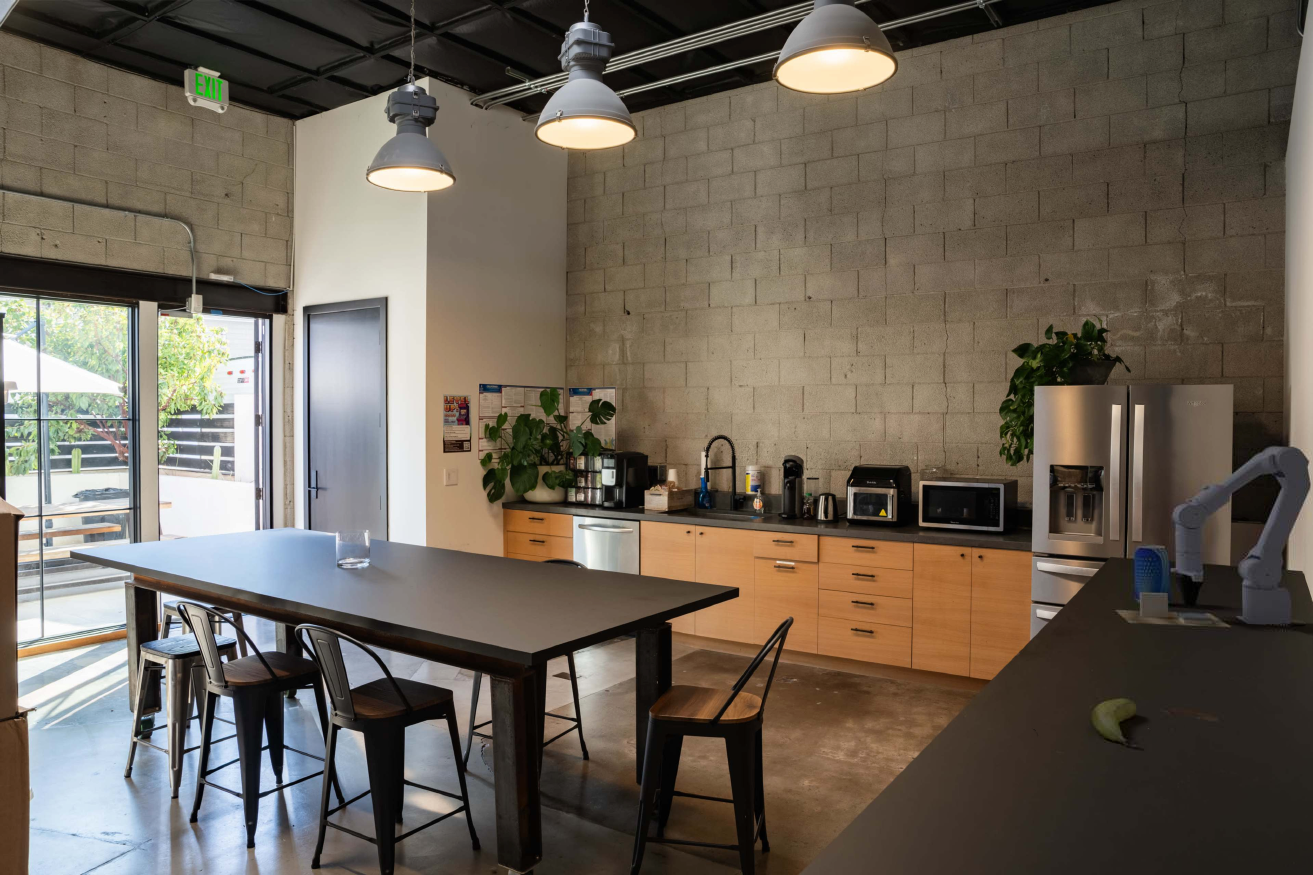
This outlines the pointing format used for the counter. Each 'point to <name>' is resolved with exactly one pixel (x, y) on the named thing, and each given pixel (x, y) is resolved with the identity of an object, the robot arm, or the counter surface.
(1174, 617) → the cork mat
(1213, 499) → the robot arm
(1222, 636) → the counter surface
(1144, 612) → the tile far
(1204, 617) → the tile near
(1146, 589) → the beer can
